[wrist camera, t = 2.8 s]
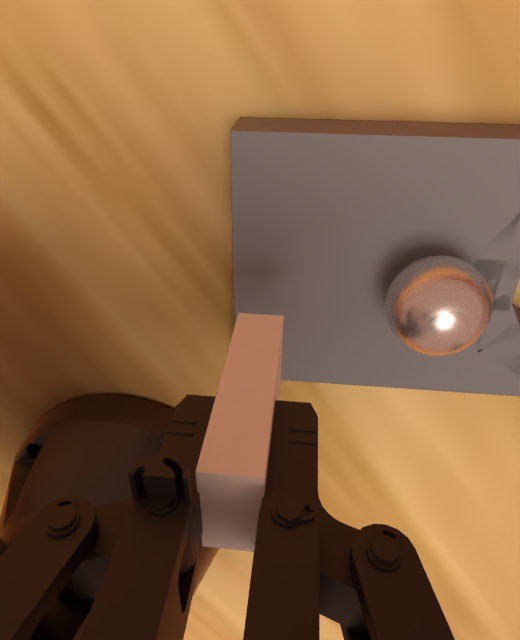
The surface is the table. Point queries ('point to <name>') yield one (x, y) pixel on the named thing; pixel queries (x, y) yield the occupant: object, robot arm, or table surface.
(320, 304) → the plate
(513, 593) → the table surface
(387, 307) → the ball
